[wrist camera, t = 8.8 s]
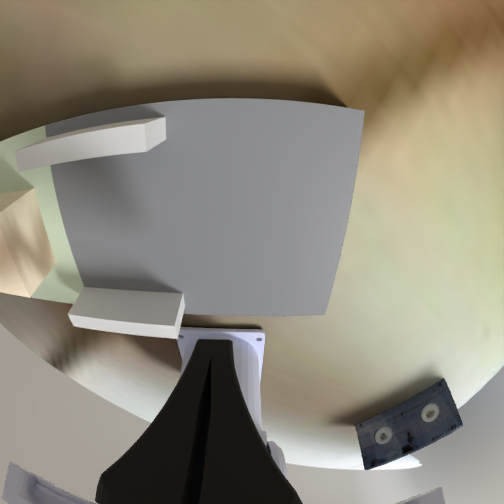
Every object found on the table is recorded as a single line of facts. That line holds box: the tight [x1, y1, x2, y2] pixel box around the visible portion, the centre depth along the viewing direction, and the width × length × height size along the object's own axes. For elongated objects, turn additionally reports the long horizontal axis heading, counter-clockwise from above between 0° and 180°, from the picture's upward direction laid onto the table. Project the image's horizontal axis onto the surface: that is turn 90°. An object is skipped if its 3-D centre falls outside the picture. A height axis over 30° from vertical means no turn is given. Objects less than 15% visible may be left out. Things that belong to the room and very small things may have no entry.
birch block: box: [0, 188, 57, 298], centre depth 13 cm, size 6×6×4 cm
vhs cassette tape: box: [356, 379, 463, 470], centre depth 33 cm, size 18×3×10 cm, turn 129°
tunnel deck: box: [0, 98, 365, 339], centre depth 15 cm, size 14×36×6 cm, turn 88°
